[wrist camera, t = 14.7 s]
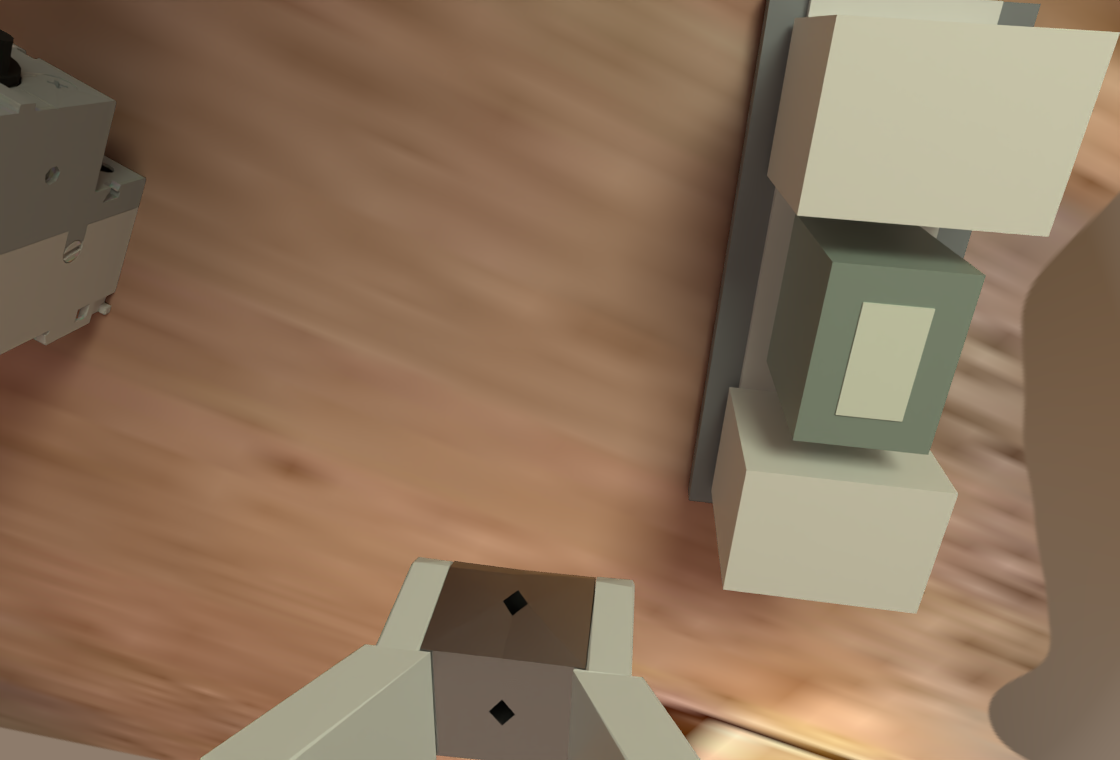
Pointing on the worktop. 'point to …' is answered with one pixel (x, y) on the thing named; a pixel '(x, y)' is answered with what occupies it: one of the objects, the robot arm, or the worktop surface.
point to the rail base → (875, 196)
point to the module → (869, 332)
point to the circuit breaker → (57, 201)
